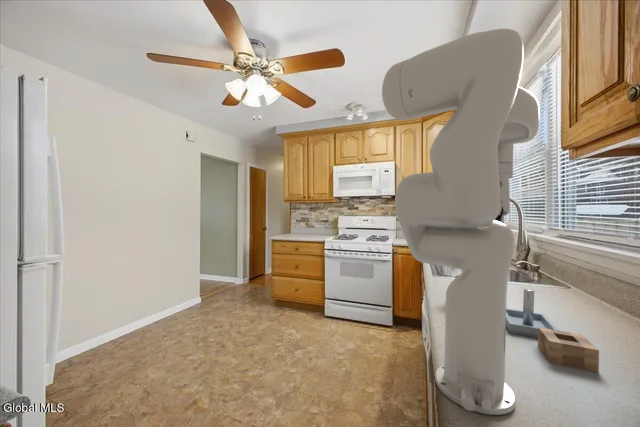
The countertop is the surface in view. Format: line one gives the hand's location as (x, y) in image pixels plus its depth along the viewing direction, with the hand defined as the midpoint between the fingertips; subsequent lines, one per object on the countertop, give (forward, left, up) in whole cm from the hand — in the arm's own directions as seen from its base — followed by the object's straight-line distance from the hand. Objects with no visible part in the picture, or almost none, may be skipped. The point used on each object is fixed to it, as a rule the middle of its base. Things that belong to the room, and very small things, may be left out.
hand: (493, 237), depth 67 cm
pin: (+14, -11, -26) cm, 31 cm away
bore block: (-2, -14, -27) cm, 30 cm away
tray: (+14, -11, -27) cm, 32 cm away
